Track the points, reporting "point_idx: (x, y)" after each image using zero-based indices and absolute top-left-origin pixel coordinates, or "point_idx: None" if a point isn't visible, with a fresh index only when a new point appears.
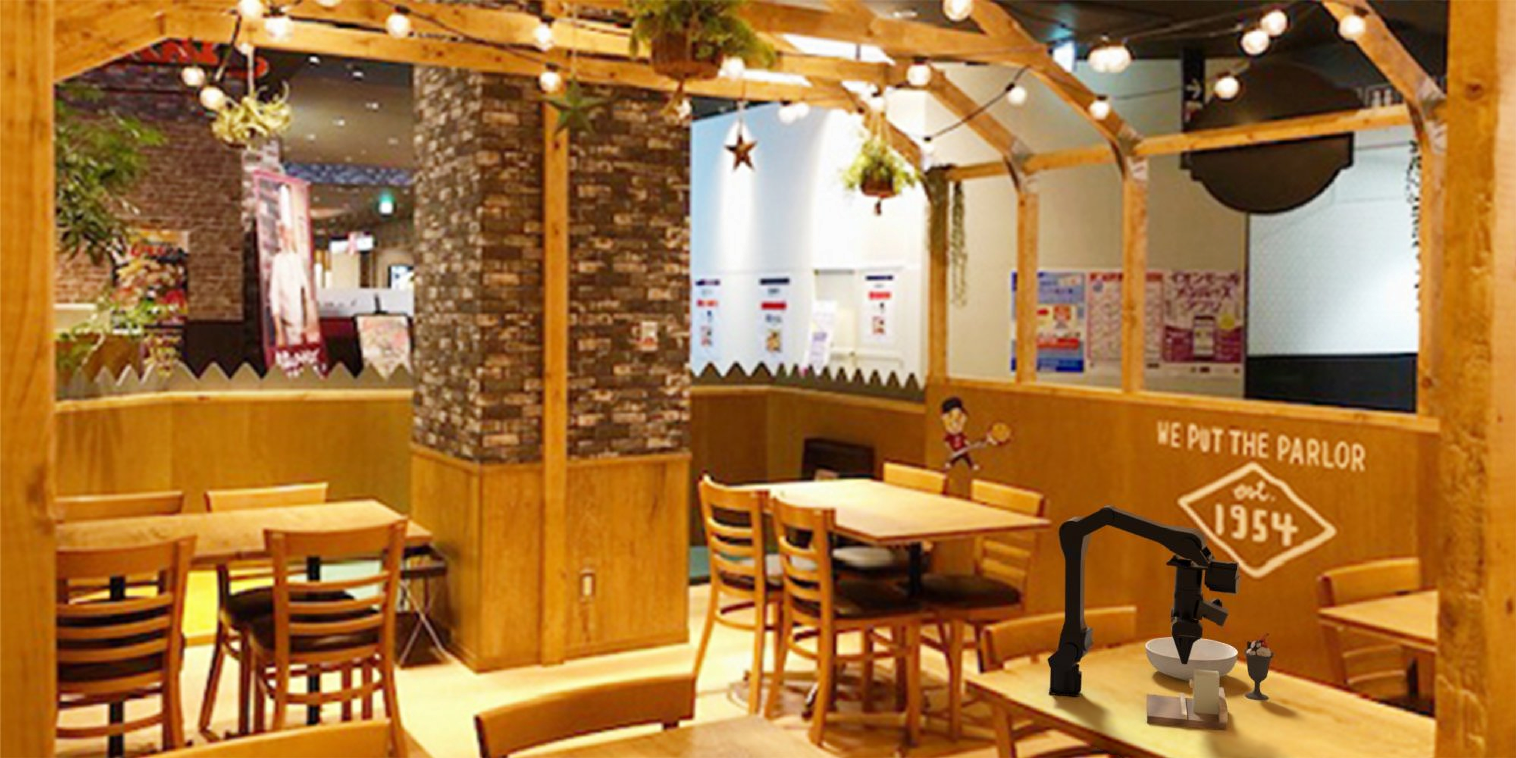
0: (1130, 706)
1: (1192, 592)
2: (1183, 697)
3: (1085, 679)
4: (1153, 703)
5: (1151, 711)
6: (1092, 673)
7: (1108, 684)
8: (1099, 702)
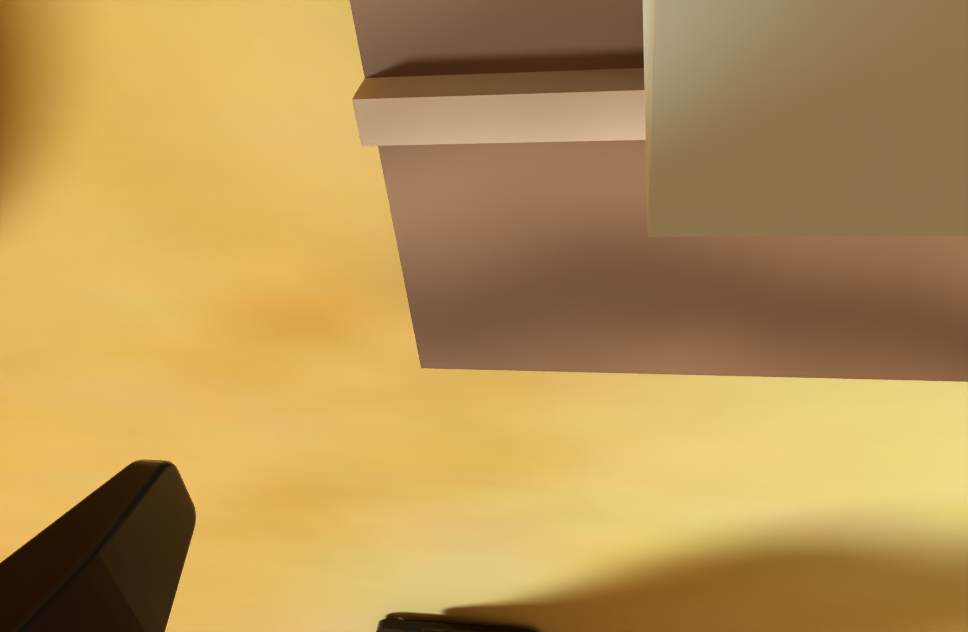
0: (625, 422)
1: None
2: (533, 111)
3: None
4: (685, 333)
5: (948, 352)
6: None
7: None
8: (599, 555)
